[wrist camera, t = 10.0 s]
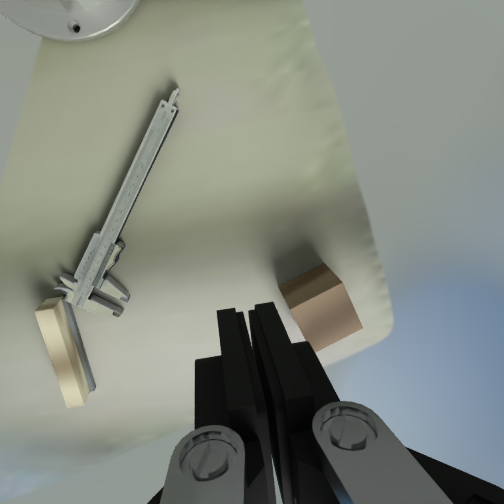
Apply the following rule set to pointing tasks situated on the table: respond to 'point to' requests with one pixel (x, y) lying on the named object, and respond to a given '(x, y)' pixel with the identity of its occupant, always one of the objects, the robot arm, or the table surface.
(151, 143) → the caliper
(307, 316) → the walnut block
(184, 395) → the table surface
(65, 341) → the rail
